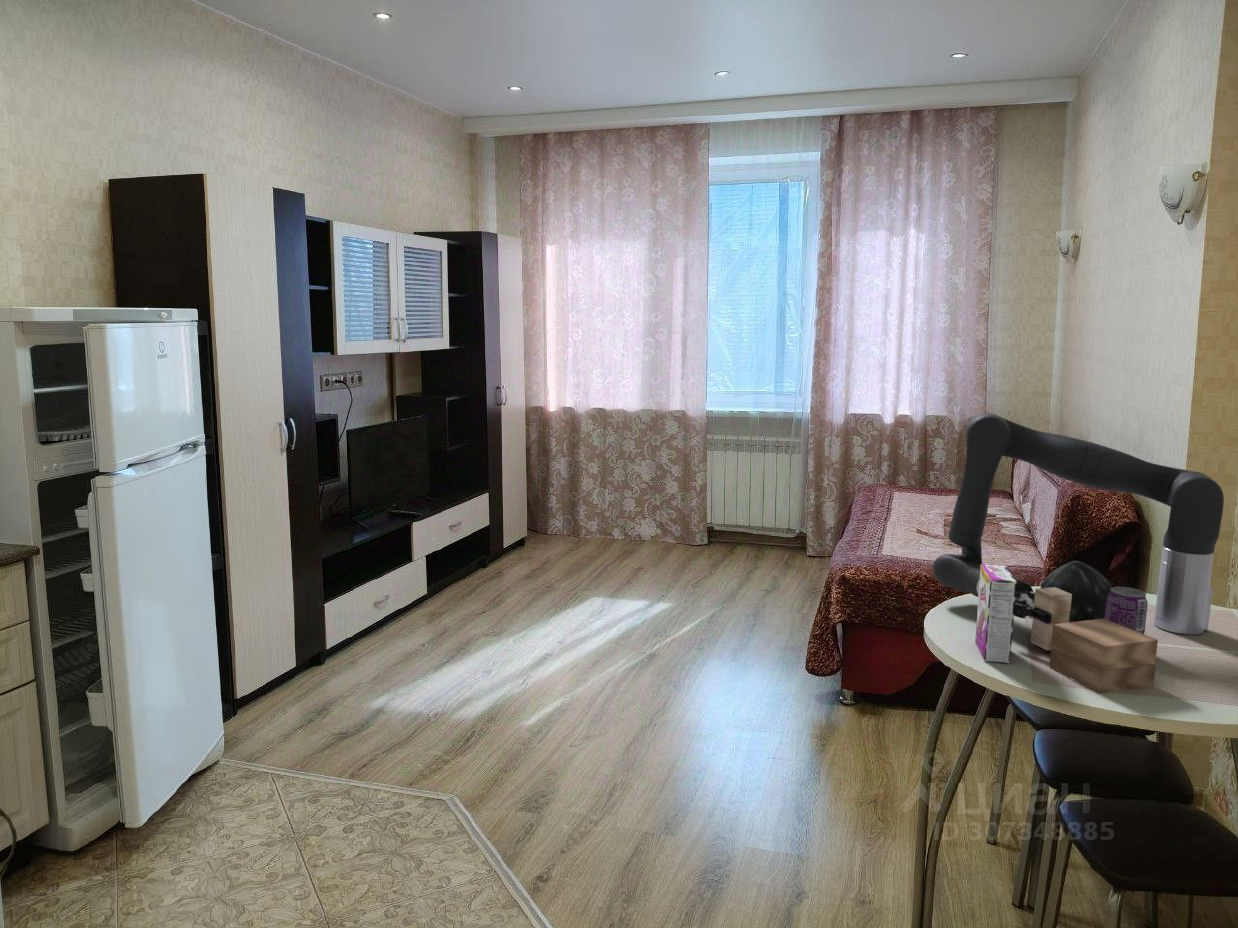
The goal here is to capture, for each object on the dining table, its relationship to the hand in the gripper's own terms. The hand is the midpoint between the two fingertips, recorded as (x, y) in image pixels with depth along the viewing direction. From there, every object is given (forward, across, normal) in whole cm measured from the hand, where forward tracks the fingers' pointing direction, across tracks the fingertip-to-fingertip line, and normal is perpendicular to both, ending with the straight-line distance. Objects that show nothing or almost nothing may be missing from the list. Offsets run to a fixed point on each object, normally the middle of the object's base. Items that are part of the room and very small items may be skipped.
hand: (1061, 617), depth 180 cm
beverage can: (0, +15, +8) cm, 17 cm away
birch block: (-3, 0, +6) cm, 7 cm away
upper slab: (+11, 0, +4) cm, 11 cm away
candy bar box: (-4, -12, +8) cm, 15 cm away
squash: (-15, +17, +8) cm, 24 cm away
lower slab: (+11, 0, +8) cm, 14 cm away
